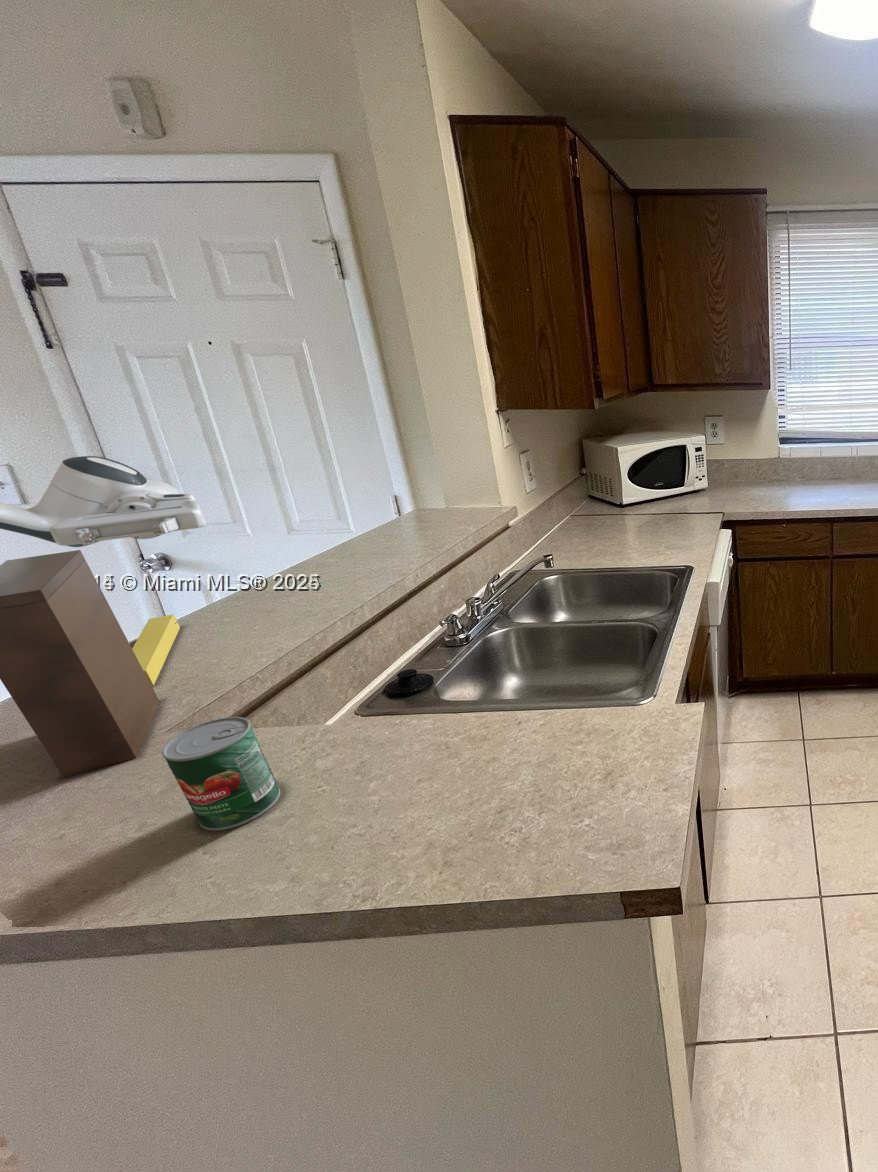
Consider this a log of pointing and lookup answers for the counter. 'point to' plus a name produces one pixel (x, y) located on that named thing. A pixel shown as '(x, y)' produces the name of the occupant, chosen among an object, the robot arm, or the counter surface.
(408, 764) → the counter surface
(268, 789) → the canned tomato
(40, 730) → the walnut stand
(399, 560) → the counter surface
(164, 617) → the yellow bar
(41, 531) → the robot arm
